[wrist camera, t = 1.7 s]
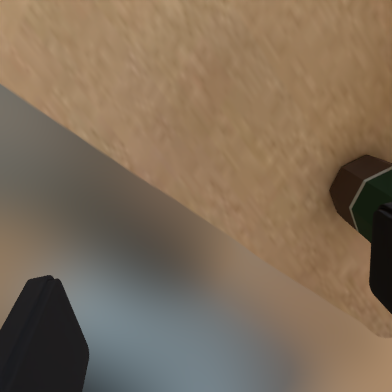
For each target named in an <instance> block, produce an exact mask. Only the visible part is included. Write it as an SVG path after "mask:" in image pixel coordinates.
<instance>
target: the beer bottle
mask: <svg viewBox="0 0 392 392" xmlns="http://www.w3.org/2000/svg"><path fill="white" fill-rule="evenodd" d="M330 193H331V196H332V199H333V202H334V205H335V207H336V210H337V213H338V214H339V215H340V216H341V217H342V218H343V219H344V220H345V221H346V222H348V223H349V224H350V225H351V226H352V227H353V228H354V229H356V230H357V231H358V232H359V233H360V234H361V235H362V236H364V237H365V238H366V239H367V240H368V241H369V242H370V243H371V241H372V223H373V213H374V212H375V211H376V210H377V209H378V207H379V206H380V205H381V204H386V203H390V202H392V163H390V162H387V161H384V160H381V159H378V158H375V157H372V156H369V155H365V156H363V157H361V158H359V159H357V160H355V161H353V162H351V163H349V164H347V165H345V166H343V167H341V169H340V171H339V173H338V175H337V177H336V179H335V181H334V183H333V185H332V187H331V189H330Z"/></svg>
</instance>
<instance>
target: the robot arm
mask: <svg viewBox="0 0 392 392" xmlns="http://www.w3.org/2000/svg"><path fill="white" fill-rule="evenodd" d="M369 285H370V288H371V291H372V293H373V294H374V295H375V297H376V298H377V299H378V300H379V301H380V302H381V303H382V304H383V305H384V306H385V307H386V308H387V310H388V311H389V312H390V313H391V314H392V202H390V203H386V204H381V205H380V206H379V207H378V209H377V210H376V211H375V212H374V213H373V223H372V241H371V259H370V277H369ZM88 361H89V349H88V345H87V343H86V340H85V338H84V335H83V333H82V331H81V328H80V326H79V323H78V321H77V319H76V316H75V314H74V312H73V309H72V307H71V304H70V302H69V300H68V297H67V295H66V292H65V290H64V287H63V285H62V283H61V281H60V280H59V279H54V278H53V277H52V276H51V275H47V276H43V277H38V278H33V279H30V280H28V281H27V283H26V284H25V286H24V288H23V290H22V292H21V293H20V295H19V297H18V299H17V301H16V302H15V304H14V306H13V308H12V310H11V312H10V314H9V315H8V317H7V319H6V321H5V322H4V324H3V326H2V328H1V330H0V392H82V389H83V384H84V380H85V375H86V370H87V365H88Z"/></svg>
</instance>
